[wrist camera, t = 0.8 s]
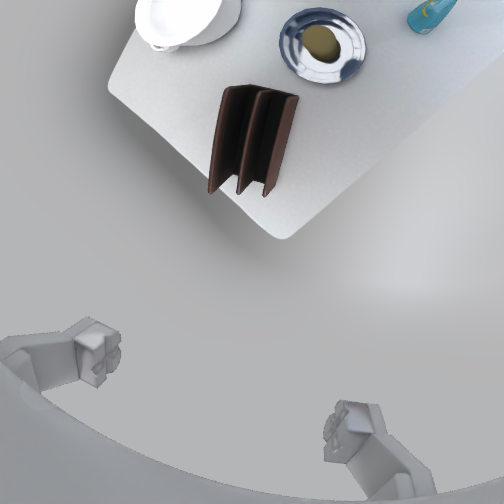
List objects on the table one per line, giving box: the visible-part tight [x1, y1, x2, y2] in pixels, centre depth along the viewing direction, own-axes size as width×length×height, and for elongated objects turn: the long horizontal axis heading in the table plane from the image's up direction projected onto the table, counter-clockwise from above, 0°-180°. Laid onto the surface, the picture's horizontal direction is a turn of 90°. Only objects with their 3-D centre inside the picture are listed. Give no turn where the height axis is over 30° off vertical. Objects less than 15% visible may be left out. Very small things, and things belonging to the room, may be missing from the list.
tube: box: [407, 0, 457, 34], centre depth 23 cm, size 7×5×19 cm, turn 147°
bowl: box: [279, 7, 366, 84], centre depth 38 cm, size 14×14×5 cm
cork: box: [302, 25, 341, 62], centre depth 35 cm, size 6×6×11 cm
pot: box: [135, 0, 241, 52], centre depth 36 cm, size 22×17×12 cm
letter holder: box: [208, 84, 298, 197], centre depth 48 cm, size 10×20×14 cm, turn 168°
